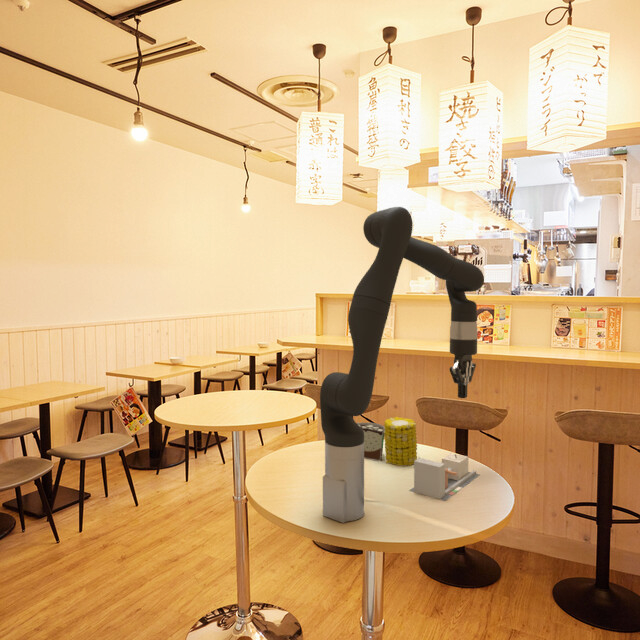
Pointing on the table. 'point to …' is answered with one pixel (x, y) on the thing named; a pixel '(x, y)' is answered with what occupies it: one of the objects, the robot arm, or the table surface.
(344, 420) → the robot arm
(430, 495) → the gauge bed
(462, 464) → the gauge housing
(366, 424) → the chocolate cake half
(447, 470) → the brown slider plate
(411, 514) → the table surface
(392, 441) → the food
